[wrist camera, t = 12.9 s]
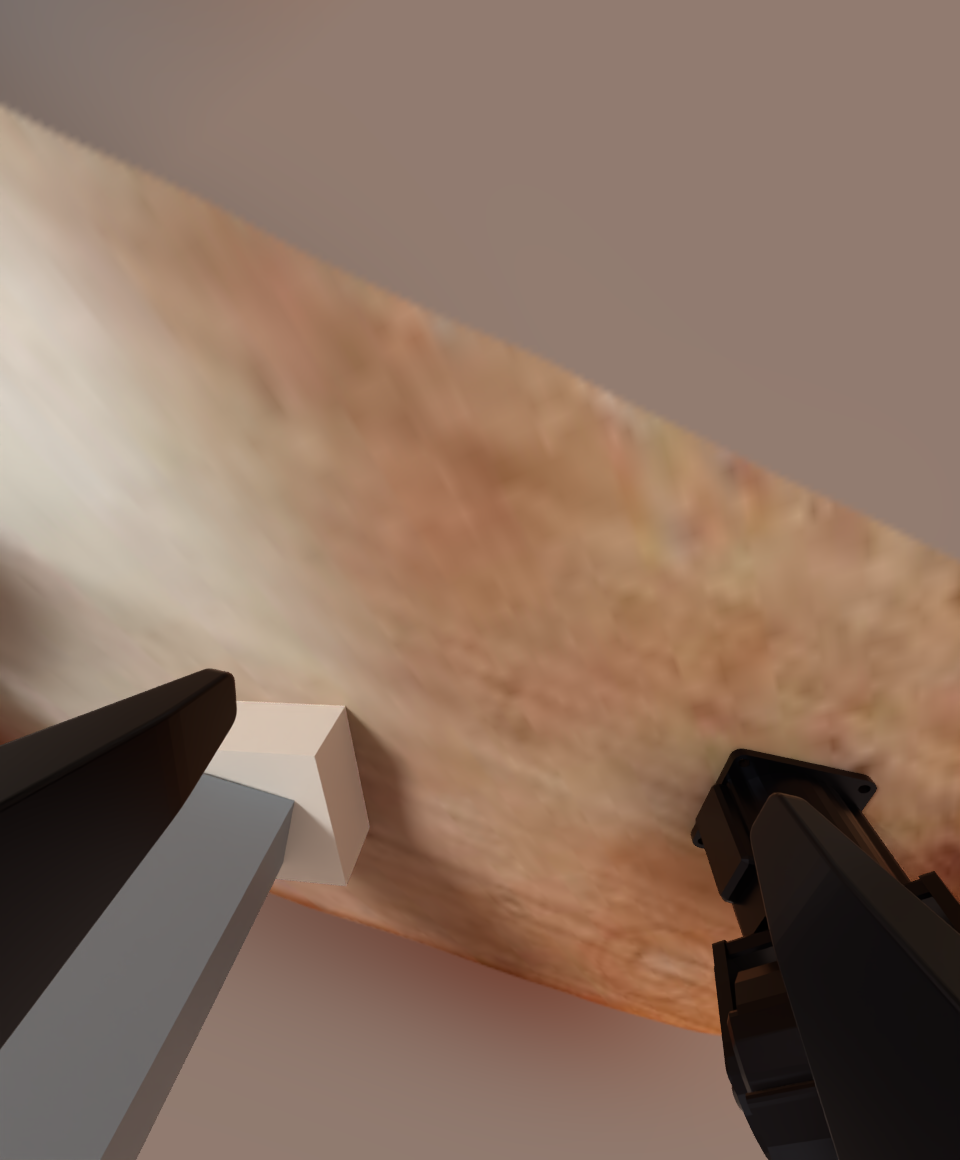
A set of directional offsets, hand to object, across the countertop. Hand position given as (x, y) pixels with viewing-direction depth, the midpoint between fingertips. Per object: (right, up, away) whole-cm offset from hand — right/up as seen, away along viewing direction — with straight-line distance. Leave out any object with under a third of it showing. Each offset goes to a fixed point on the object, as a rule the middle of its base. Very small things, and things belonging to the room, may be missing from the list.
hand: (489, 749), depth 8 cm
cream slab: (-11, -8, +20) cm, 24 cm away
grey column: (-12, -9, +16) cm, 22 cm away
